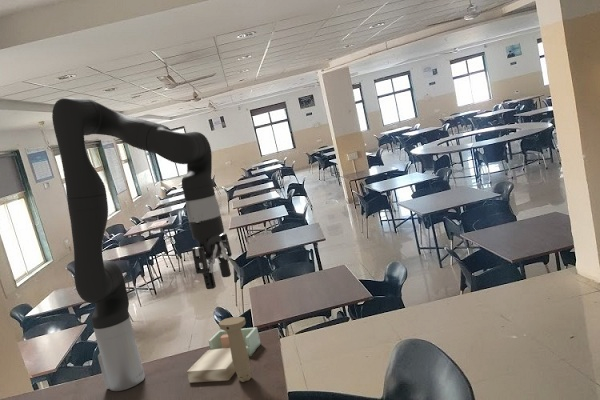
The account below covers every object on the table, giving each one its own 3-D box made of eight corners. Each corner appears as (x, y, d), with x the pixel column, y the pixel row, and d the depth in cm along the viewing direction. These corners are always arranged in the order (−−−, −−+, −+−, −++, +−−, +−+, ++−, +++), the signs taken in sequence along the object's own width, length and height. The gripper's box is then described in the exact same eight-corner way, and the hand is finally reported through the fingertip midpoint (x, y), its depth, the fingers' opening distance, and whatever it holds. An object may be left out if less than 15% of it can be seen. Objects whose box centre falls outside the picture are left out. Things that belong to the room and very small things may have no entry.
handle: (252, 384, 120) (238, 324, 119) (229, 384, 123) (215, 325, 121) (261, 374, 125) (248, 316, 123) (238, 374, 127) (225, 317, 125)
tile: (219, 337, 141) (222, 334, 143) (223, 353, 141) (226, 349, 143) (234, 336, 140) (237, 333, 142) (238, 351, 140) (241, 348, 142)
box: (211, 359, 140) (207, 342, 140) (222, 347, 147) (218, 330, 147) (251, 356, 137) (247, 338, 136) (260, 343, 144) (256, 327, 143)
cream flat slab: (189, 382, 129) (186, 371, 128) (210, 360, 140) (208, 349, 140) (228, 380, 125) (226, 368, 125) (246, 357, 137) (244, 346, 136)
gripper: (204, 212, 128) (218, 274, 130) (175, 225, 115) (191, 294, 117) (231, 208, 126) (244, 271, 128) (204, 221, 112) (220, 291, 114)
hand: (219, 282), depth 122 cm, fingers open, 8 cm apart
